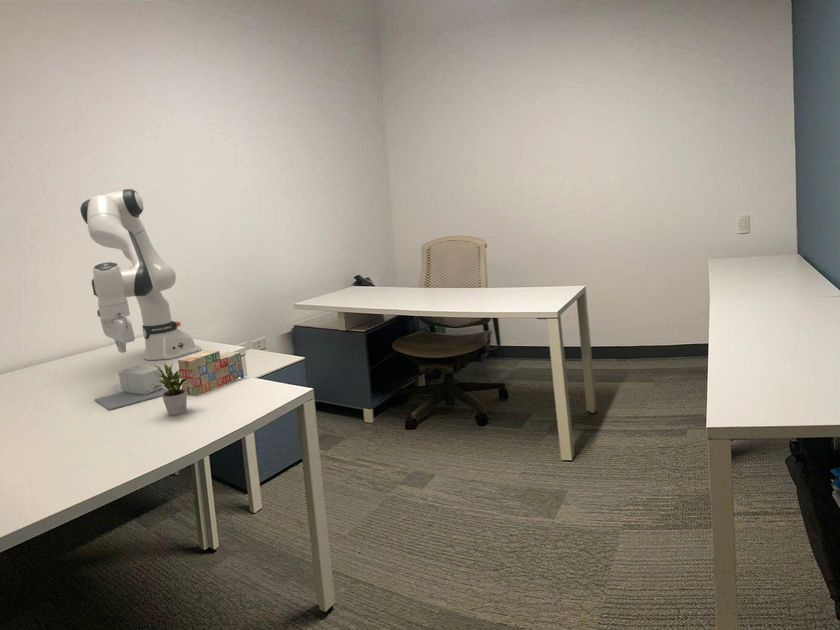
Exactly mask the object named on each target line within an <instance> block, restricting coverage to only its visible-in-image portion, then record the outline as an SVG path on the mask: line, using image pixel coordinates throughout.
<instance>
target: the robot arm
mask: <svg viewBox="0 0 840 630" xmlns="http://www.w3.org/2000/svg"><path fill="white" fill-rule="evenodd" d="M79 210H80V214H81V217H82V220H83V221H84V222H85V224H86V225H87V229H88V232H89V236H90V238H91V239H92V240H93V241H94V242H95V243H97V244H98V245H100V246H101V247H105V248H109V249H115V250H121V251H122V253H123V255H124V257H125V258H126V259H128V261H130V262H131V263H132V266H130V267H128V268H125V269H123V268H122V269H121V268H120V265H119V264H118V263H116V262H103V263H102V262H101V263H99V264H96V265H95V266H93V269H92V271H93V272H92V273H93V278H92V279H91V287H92V290H93V295H94V296H95V297H97V299H98V301H97V306H98V307H97V308H98V310H97V317H99V318H100V324H101V327H102V331H103V333H104V335H105V336H106V337H108V338H110V339H113V340H114V343H115V346H116V347H117V352H119V353H121V354H123V353H126V352H127V348H126V347H127V344H128V343H133V342H134V341H135V338H136V337H135V332H134V329H133V324H132V321H131V320H130V319H129V318H127V317H129V316H131V313H130V307H129V302H128V299H127V298H131V297H135V298H136V301H137V303H138V306H139V309H140V313H141V314H140V315H141V319H142V335H143V337H144V340H145V341H144V342H145V343H144V344H145V345H144V346H145V349H144V352H145V353H144V359H145V360H146V361H155V360H172V359H175V358H179V357H182V356H185V355H186V356H187V355H189V354H192V353H198V352H201V351H202V348H201V346H199V345H197V344H196V343H195V341H194V339H193V337H192V335H190V334H188V333H186V332H185V331H182V330H180V329H178V328H179V327H180V326H181V322H180V321H173V320H172V315H171V310H170V309H171V308H170V304H169V302H168V301H167V299H166V298H165V297H164V296H163V294H162V291H166V290H169V289H171V288H172V287H174V285H175V284H176V281H177V275H176V271H174V269H173V268H172V267H170V266H169V265H168V264H166V262H165V261H164V259H162V257H161V255H159V254H158V253H157V250H156V249H155V248H154V246H153V244H152V242H151V239H150V238H149V236H148V233H147V230H146V229H145V226H144V224H143V222H142V220H141V218H140V215H141V214H142V213H143V211H144V202H143V199H142V197H141V196H140V195H139V193H138V191H137V190H134V189H132V188H128V189H123V190H118V191H113V192H108V193H105V194H98V195H94V196H92V197H91V198H89V199H87V200H85V201H83V202H82V203H81V206H80V209H79Z"/></svg>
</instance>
